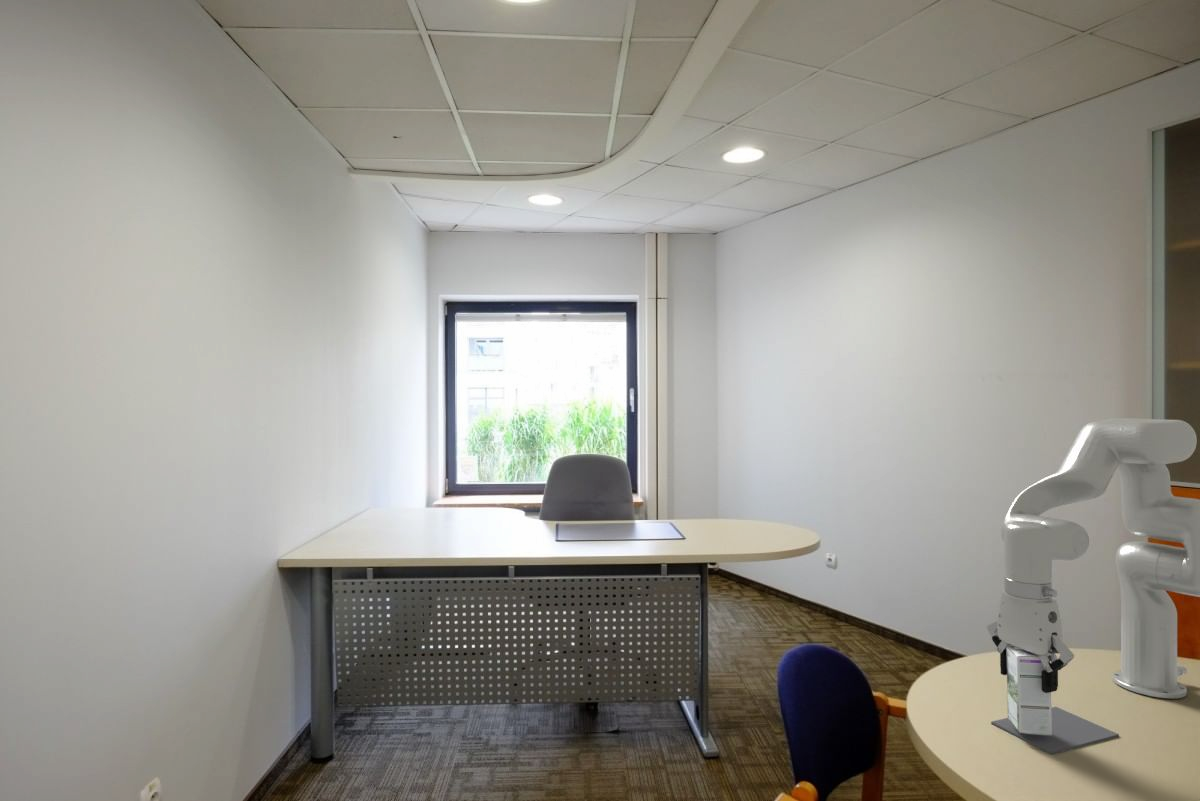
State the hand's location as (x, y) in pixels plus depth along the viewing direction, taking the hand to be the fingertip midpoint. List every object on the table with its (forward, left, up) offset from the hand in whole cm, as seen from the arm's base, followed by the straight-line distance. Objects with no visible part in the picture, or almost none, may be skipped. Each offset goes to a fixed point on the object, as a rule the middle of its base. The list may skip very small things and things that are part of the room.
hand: (1028, 681), depth 126 cm
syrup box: (0, 0, -9) cm, 9 cm away
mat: (-7, 0, -10) cm, 12 cm away
